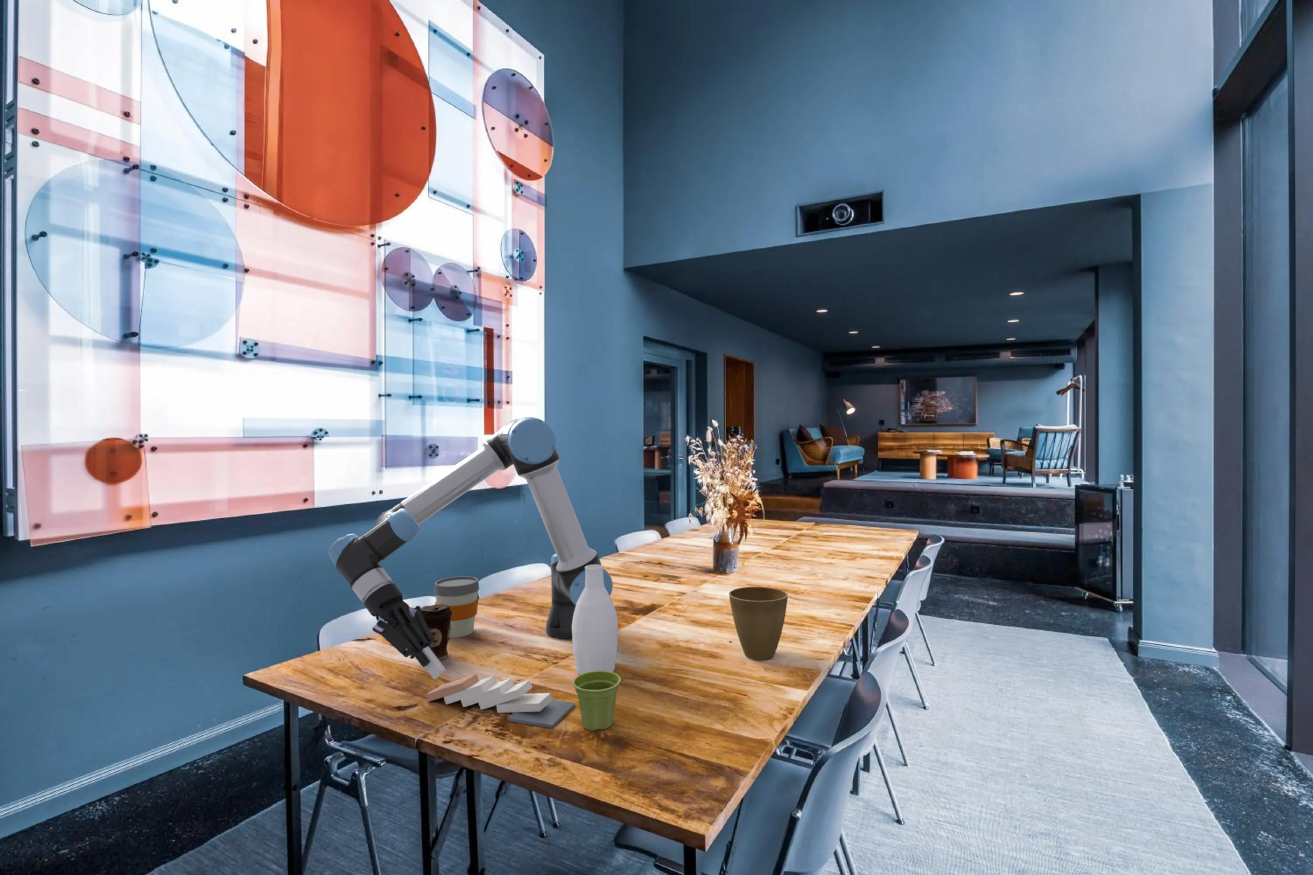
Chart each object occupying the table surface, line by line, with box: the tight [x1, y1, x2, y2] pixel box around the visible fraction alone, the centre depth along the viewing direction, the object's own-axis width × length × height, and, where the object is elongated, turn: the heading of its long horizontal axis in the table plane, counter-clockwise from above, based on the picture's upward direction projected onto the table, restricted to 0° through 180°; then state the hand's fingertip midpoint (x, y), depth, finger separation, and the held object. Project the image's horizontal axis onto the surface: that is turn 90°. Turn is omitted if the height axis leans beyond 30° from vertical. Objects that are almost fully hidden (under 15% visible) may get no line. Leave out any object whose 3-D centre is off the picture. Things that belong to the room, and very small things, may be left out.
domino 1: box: [425, 673, 480, 703], centre depth 128 cm, size 2×5×10 cm
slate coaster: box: [507, 699, 576, 729], centre depth 121 cm, size 10×10×1 cm
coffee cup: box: [420, 604, 452, 661], centre depth 153 cm, size 9×8×13 cm
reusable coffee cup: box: [433, 575, 480, 639], centre depth 172 cm, size 13×13×15 cm
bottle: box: [571, 564, 619, 676], centre depth 142 cm, size 11×11×25 cm
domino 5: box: [495, 692, 553, 714], centre depth 122 cm, size 2×5×10 cm
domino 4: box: [477, 679, 533, 711], centre depth 124 cm, size 2×5×10 cm
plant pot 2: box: [728, 586, 789, 661], centre depth 151 cm, size 15×15×16 cm
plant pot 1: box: [572, 671, 622, 732], centre depth 116 cm, size 9×9×9 cm
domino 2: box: [443, 675, 498, 705], centre depth 126 cm, size 2×5×10 cm
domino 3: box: [460, 677, 515, 708], centre depth 125 cm, size 2×5×10 cm
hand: (439, 674), depth 129 cm, fingers closed
